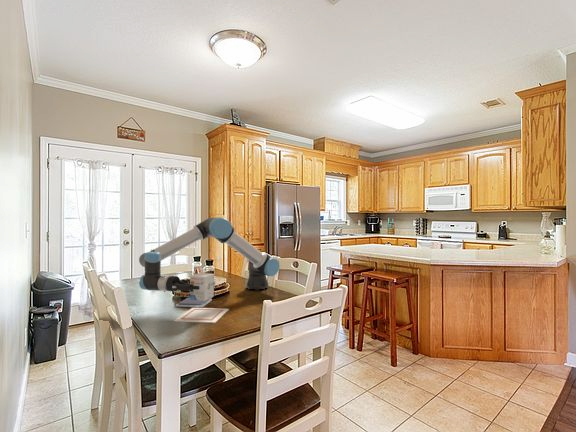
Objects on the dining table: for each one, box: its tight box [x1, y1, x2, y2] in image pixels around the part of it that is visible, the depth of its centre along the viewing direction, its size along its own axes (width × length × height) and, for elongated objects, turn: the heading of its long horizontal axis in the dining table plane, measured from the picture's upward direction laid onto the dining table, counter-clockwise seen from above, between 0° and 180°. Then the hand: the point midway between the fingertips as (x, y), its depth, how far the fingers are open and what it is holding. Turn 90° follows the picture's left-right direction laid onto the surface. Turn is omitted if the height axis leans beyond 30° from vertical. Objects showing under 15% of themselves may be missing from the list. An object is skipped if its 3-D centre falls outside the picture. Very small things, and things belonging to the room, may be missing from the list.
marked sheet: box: [173, 307, 230, 324], centre depth 150 cm, size 20×20×1 cm
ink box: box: [189, 272, 215, 301], centre depth 150 cm, size 9×8×12 cm
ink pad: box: [175, 296, 213, 308], centre depth 170 cm, size 15×14×2 cm
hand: (210, 285), depth 149 cm, fingers closed on ink box, 9 cm apart
